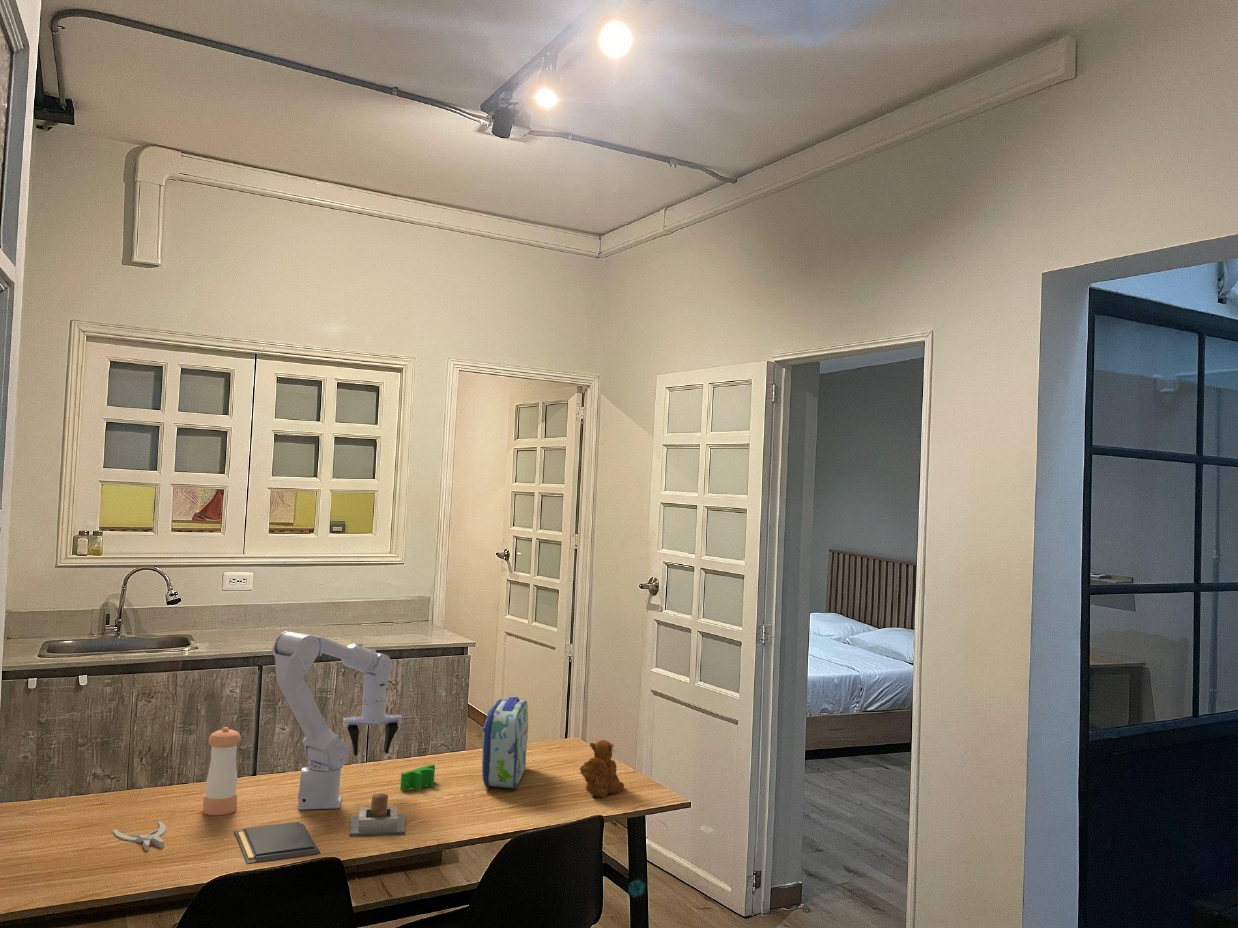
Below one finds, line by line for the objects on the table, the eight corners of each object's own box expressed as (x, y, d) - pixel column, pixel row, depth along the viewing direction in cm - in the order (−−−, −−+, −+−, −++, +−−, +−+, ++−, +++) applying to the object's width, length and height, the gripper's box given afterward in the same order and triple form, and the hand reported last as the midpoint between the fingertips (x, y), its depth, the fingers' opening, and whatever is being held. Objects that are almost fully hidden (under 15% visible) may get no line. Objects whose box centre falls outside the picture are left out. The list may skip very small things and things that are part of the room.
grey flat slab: (322, 848, 188) (243, 858, 180) (321, 857, 188) (243, 868, 180) (305, 817, 205) (233, 825, 198) (305, 825, 205) (233, 833, 198)
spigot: (369, 825, 204) (371, 798, 204) (370, 819, 207) (372, 793, 207) (385, 825, 204) (387, 798, 205) (386, 819, 208) (388, 793, 208)
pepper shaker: (195, 810, 209) (201, 727, 210) (222, 802, 215) (228, 721, 216) (216, 817, 205) (222, 732, 206) (243, 808, 212) (249, 726, 213)
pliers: (162, 817, 201) (180, 838, 189) (161, 824, 201) (180, 845, 189) (112, 825, 194) (128, 847, 183) (111, 832, 194) (128, 855, 183)
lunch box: (491, 763, 259) (495, 690, 260) (528, 765, 259) (532, 692, 260) (476, 792, 233) (480, 710, 234) (517, 794, 233) (522, 713, 234)
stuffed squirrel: (625, 787, 243) (628, 738, 244) (610, 803, 230) (613, 751, 230) (590, 782, 246) (593, 734, 247) (573, 797, 232) (576, 746, 233)
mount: (349, 836, 198) (350, 823, 198) (351, 817, 210) (352, 805, 210) (404, 833, 201) (405, 821, 201) (404, 815, 213) (404, 803, 213)
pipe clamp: (410, 794, 229) (411, 776, 229) (400, 791, 231) (401, 773, 231) (441, 783, 239) (442, 766, 239) (431, 780, 241) (431, 763, 241)
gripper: (347, 704, 224) (344, 759, 223) (405, 701, 230) (402, 755, 229) (343, 698, 230) (339, 752, 229) (400, 695, 236) (396, 748, 236)
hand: (370, 753), depth 230 cm, fingers open, 7 cm apart
